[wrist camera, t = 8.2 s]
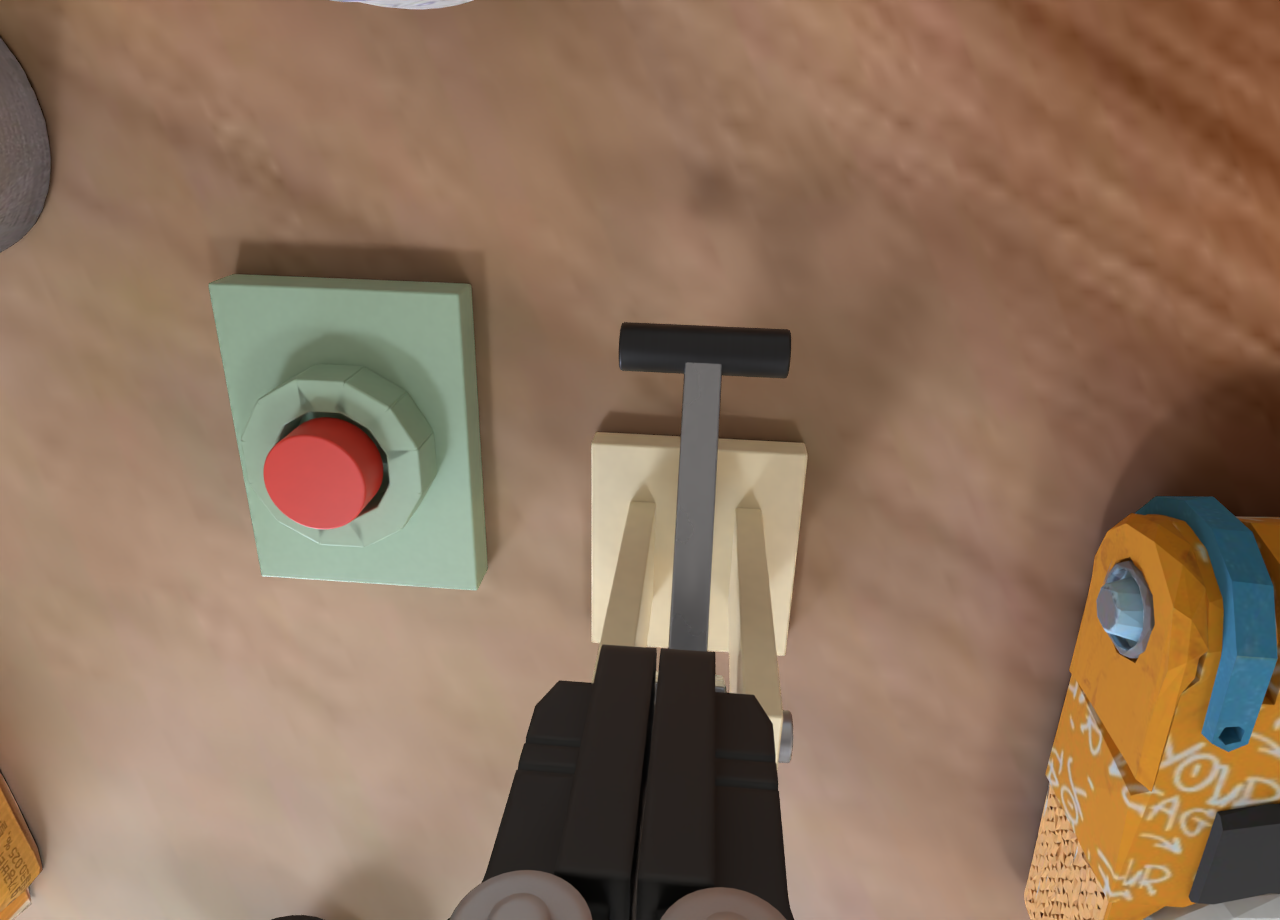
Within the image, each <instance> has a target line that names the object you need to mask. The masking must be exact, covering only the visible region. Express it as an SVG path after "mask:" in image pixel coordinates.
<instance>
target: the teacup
mask: <svg viewBox="0 0 1280 920" xmlns="http://www.w3.org/2000/svg"><path fill="white" fill-rule="evenodd" d="M331 1H341V2H361V3H366V4H371V5H377V6H382V7H392V8H403V9H423V10H424V9H434V8H444V7H450V6H455V5H459V4H463V3H467V2H470V1H472V0H331Z"/></svg>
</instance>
